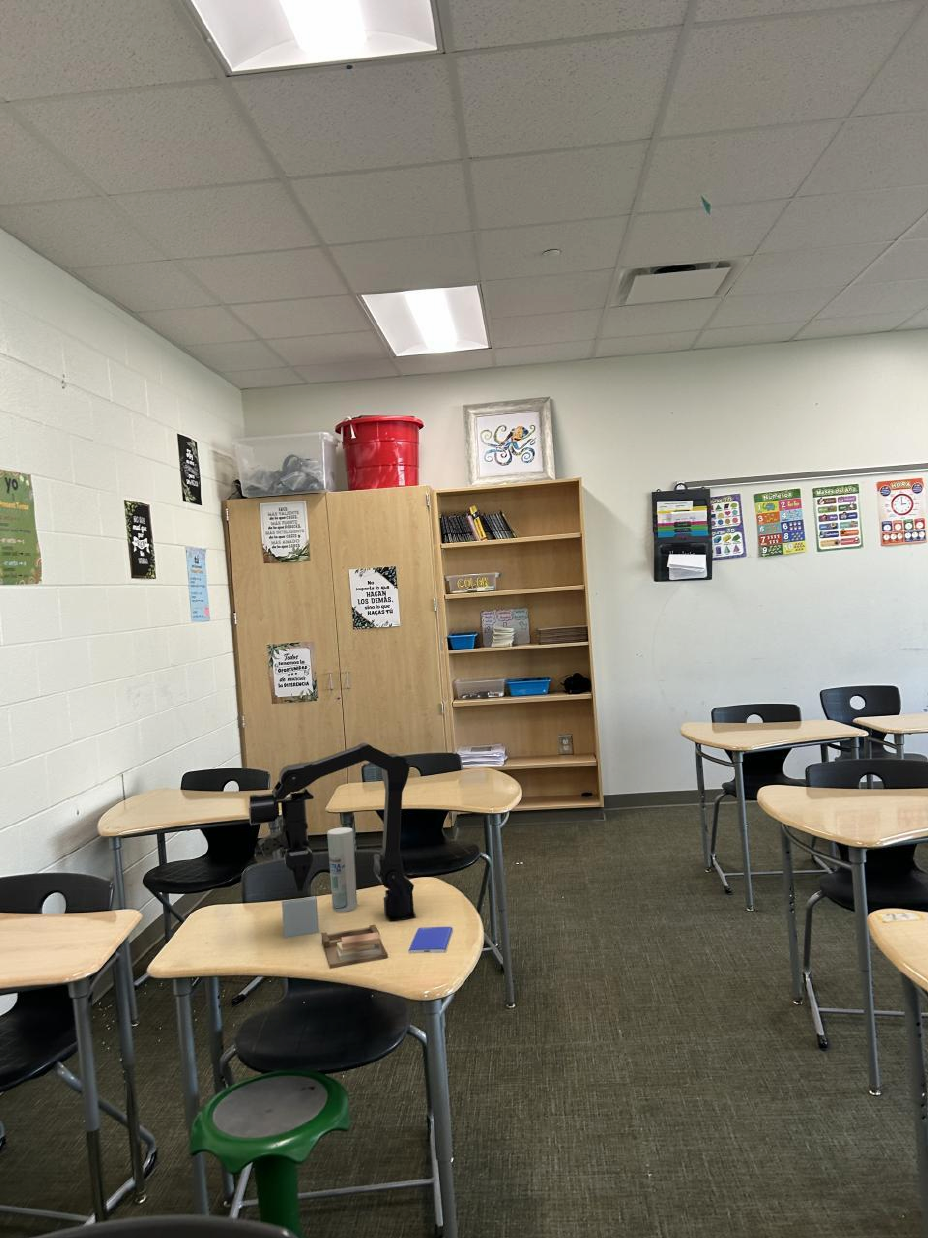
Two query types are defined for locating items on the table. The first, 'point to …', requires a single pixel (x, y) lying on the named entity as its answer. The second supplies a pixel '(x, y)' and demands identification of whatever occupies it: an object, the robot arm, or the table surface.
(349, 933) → the rack
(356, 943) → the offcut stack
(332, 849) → the spray can
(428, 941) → the hard drive
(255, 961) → the table surface
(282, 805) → the robot arm
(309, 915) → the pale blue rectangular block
